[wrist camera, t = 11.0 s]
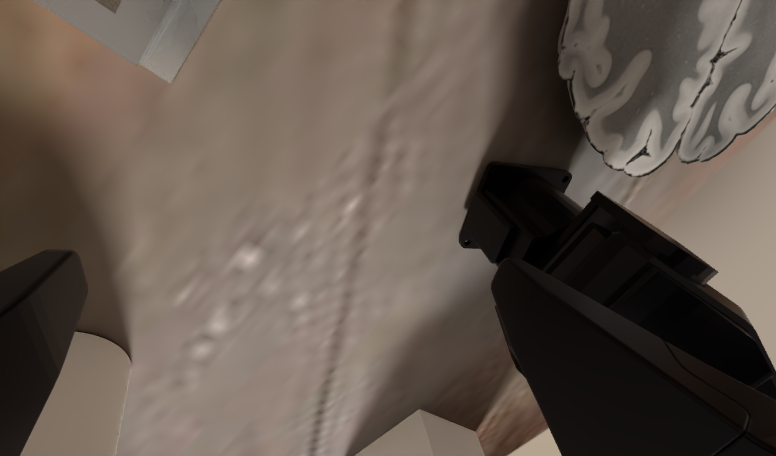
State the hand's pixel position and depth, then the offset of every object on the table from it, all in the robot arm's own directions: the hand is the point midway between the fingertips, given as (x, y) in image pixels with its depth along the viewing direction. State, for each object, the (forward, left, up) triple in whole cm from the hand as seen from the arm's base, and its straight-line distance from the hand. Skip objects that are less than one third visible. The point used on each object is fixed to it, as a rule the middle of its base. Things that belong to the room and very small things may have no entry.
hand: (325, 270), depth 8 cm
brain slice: (-21, -8, -14) cm, 26 cm away
